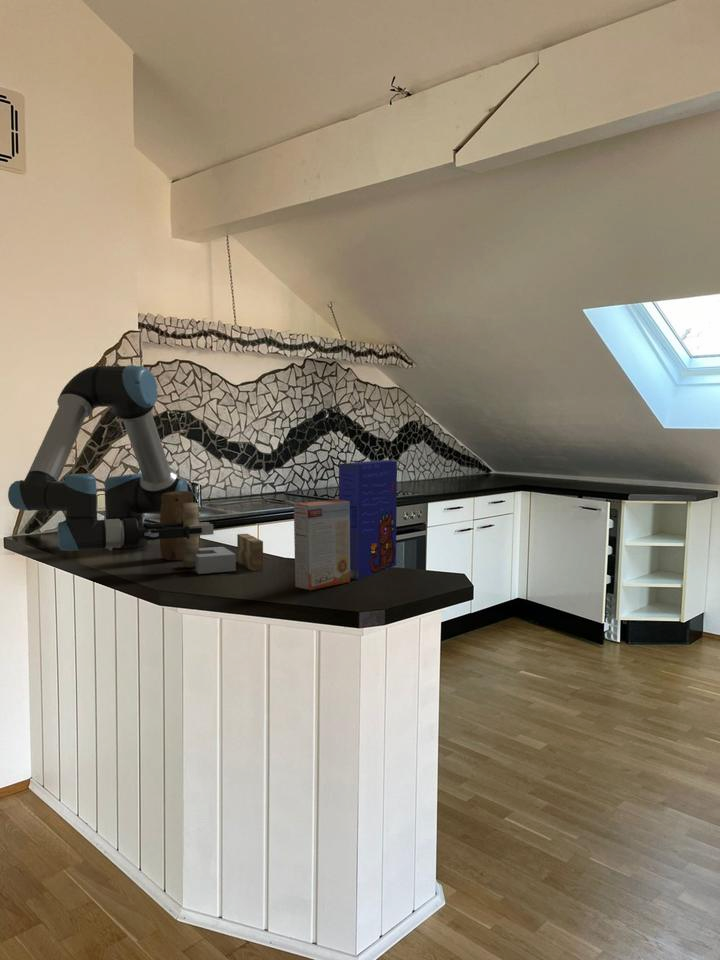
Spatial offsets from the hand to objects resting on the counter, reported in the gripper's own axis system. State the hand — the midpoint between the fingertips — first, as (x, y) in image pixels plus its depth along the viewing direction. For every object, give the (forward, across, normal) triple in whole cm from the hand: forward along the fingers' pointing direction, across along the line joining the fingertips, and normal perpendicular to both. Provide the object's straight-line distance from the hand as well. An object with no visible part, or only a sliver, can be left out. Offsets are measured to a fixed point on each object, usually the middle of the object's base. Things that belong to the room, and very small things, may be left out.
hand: (210, 528), depth 202 cm
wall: (+11, -1, -12) cm, 16 cm away
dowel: (-5, 0, -10) cm, 11 cm away
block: (-4, -20, -12) cm, 23 cm away
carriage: (0, -1, -11) cm, 11 cm away
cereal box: (+39, +19, -12) cm, 45 cm away
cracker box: (+21, +30, -12) cm, 38 cm away
